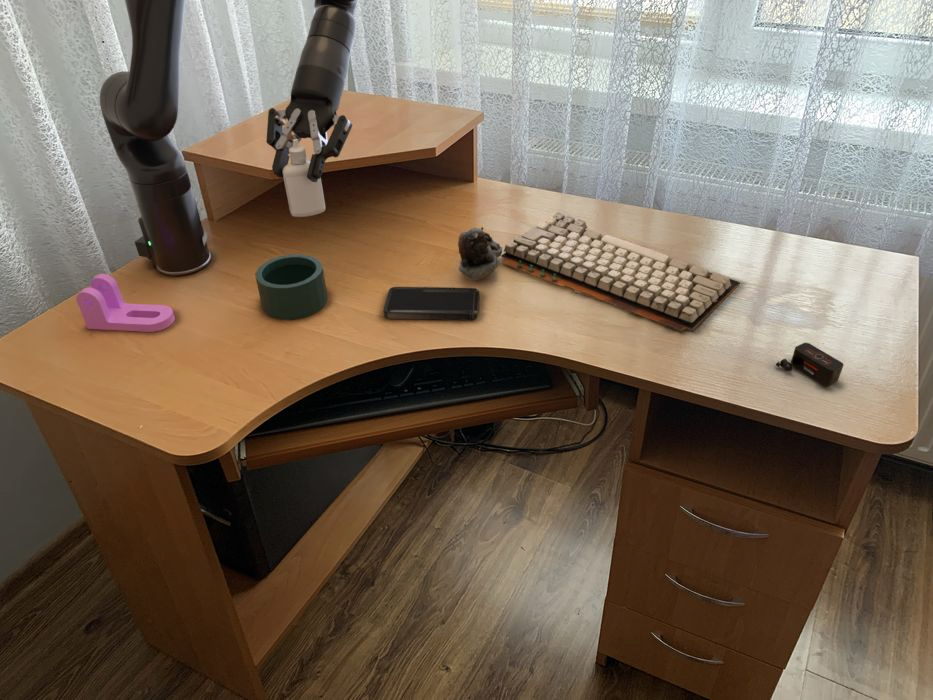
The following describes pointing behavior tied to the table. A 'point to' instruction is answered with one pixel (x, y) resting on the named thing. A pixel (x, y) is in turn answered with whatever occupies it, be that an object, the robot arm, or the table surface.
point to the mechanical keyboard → (619, 272)
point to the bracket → (119, 309)
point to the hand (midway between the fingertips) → (294, 177)
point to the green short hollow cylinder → (291, 286)
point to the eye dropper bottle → (302, 185)
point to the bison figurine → (477, 253)
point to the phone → (432, 303)
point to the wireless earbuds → (814, 364)
